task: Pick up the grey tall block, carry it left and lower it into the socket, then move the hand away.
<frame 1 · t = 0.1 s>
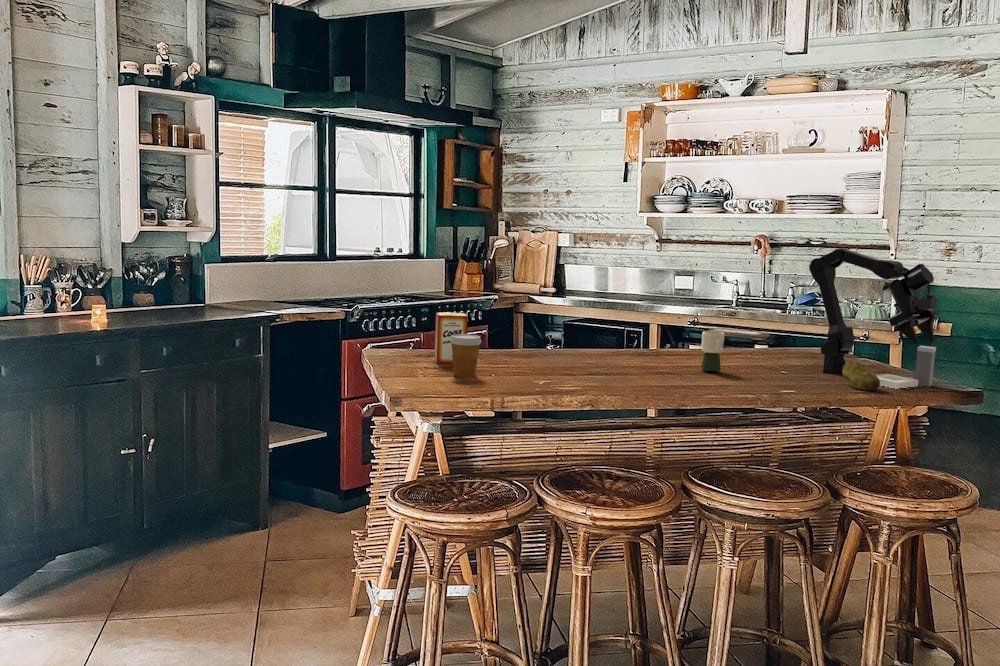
hand: (924, 342, 305), 15 cm above the breakfast bar, tool tilted 35°, fingers open, 9 cm apart
disposable coffee cup: (464, 376, 298), on the breakfast bar
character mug: (710, 372, 323), on the breakfast bar
socket: (891, 385, 313), on the breakfast bar
grey tall block: (922, 385, 314), on the breakfast bar
potato: (859, 388, 305), on the breakfast bar
baking soda box: (450, 362, 320), on the breakfast bar
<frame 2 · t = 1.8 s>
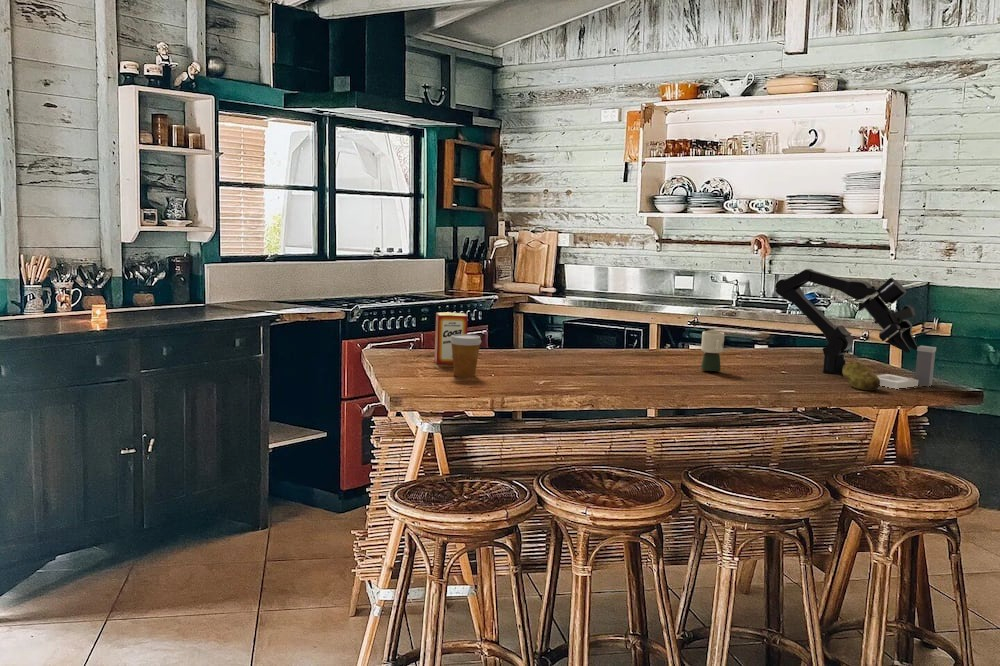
hand: (913, 350, 315), 11 cm above the breakfast bar, tool tilted 45°, fingers open, 9 cm apart
nothing on the breakfast bar moved.
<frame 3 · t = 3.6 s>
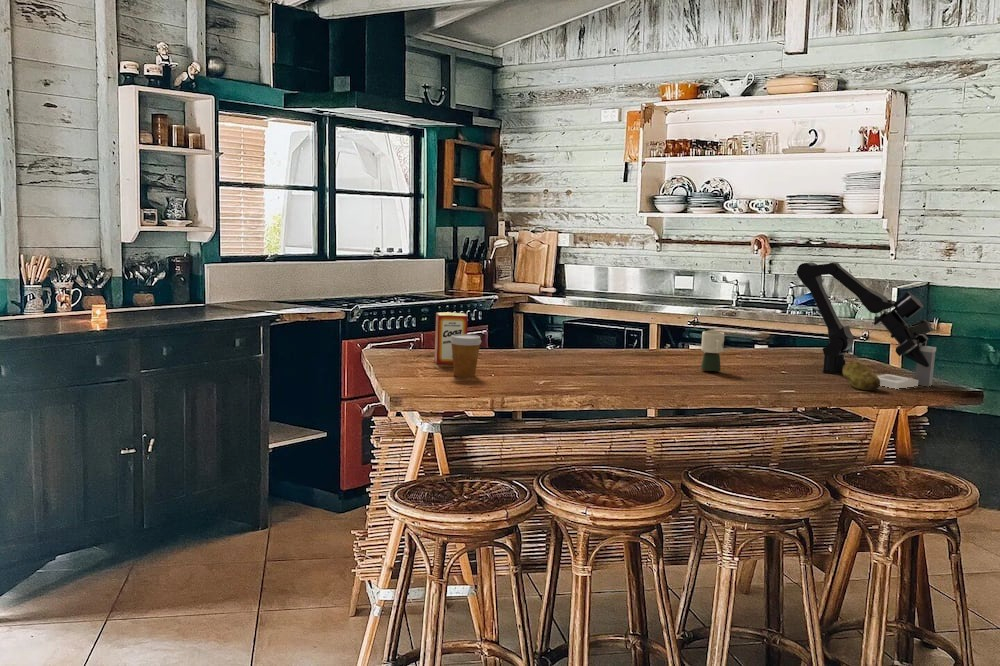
hand: (929, 365, 313), 7 cm above the breakfast bar, tool tilted 45°, fingers closed on grey tall block, 4 cm apart
grey tall block: (922, 385, 314), on the breakfast bar, touching gripper
everything else where it was.
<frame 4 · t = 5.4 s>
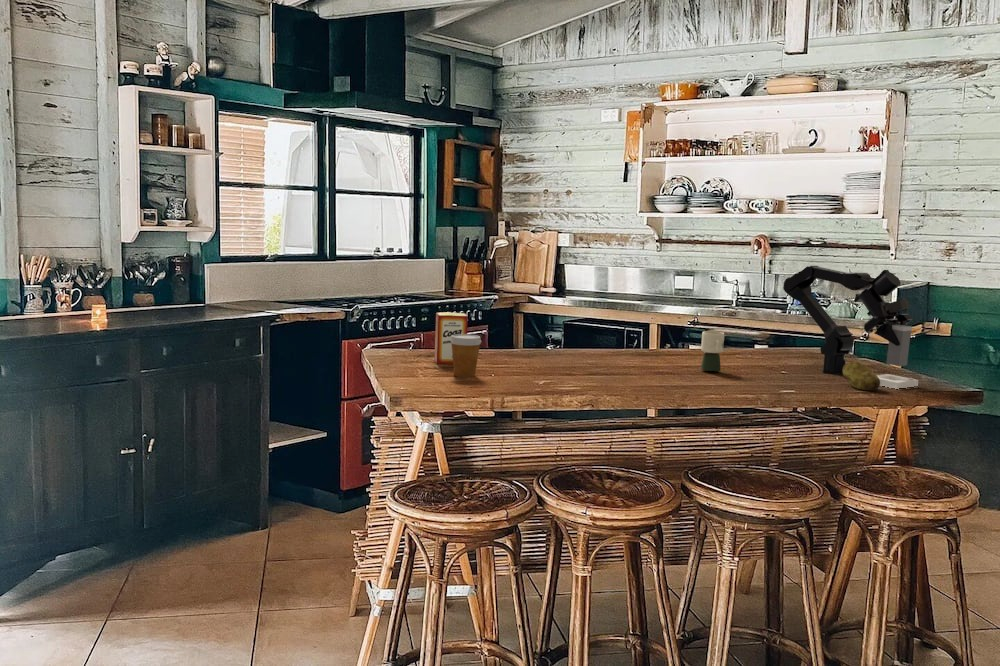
hand: (902, 344, 310), 13 cm above the breakfast bar, tool tilted 45°, fingers closed on grey tall block, 4 cm apart
grey tall block: (896, 364, 312), point 7 cm above the breakfast bar, touching gripper
everything else where it was.
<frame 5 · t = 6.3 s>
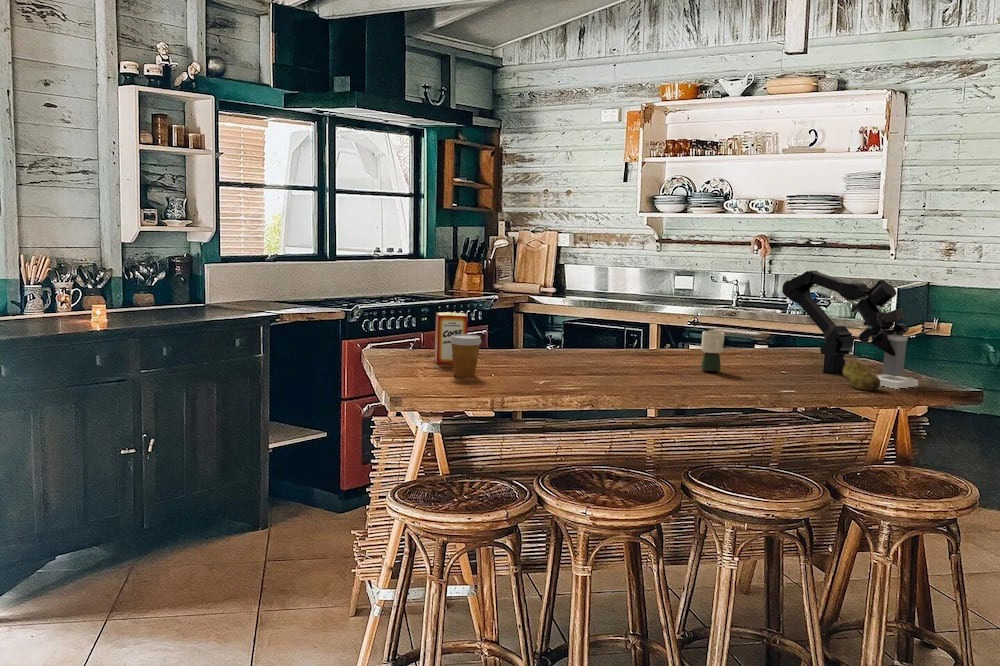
hand: (898, 354, 310), 10 cm above the breakfast bar, tool tilted 45°, fingers closed on grey tall block, 4 cm apart
grey tall block: (892, 374, 312), point 3 cm above the breakfast bar, touching gripper
everything else where it was.
when the fingers open (8 cm above the breakfast bar, at t = 7.1 s): grey tall block stays where it is, resting on socket.
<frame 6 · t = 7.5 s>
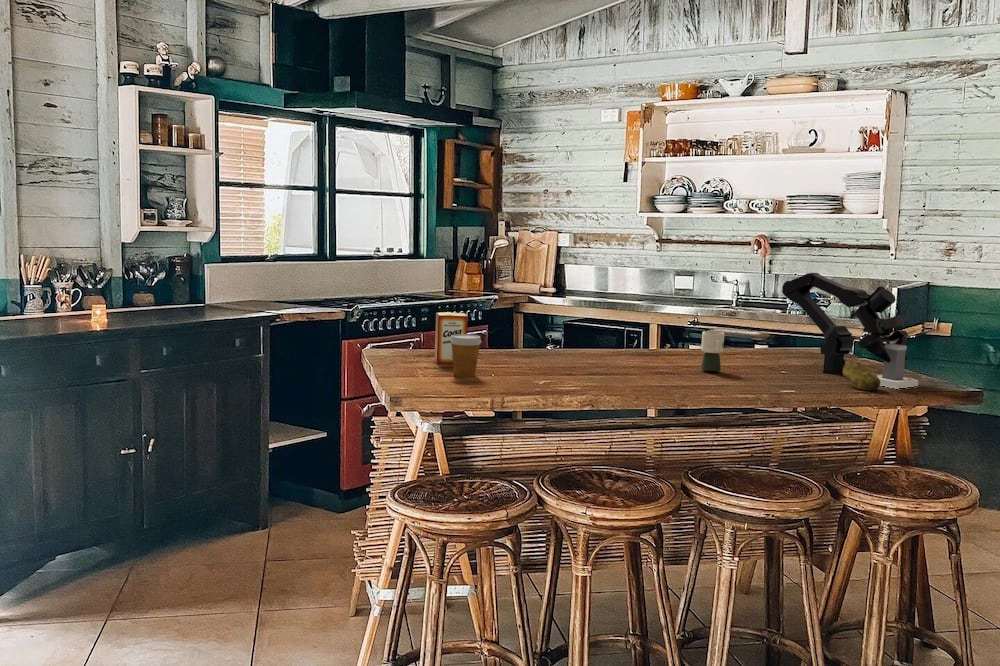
hand: (898, 361, 310), 8 cm above the breakfast bar, tool tilted 45°, fingers open, 8 cm apart
grey tall block: (892, 383, 312), resting on socket
everything else where it was.
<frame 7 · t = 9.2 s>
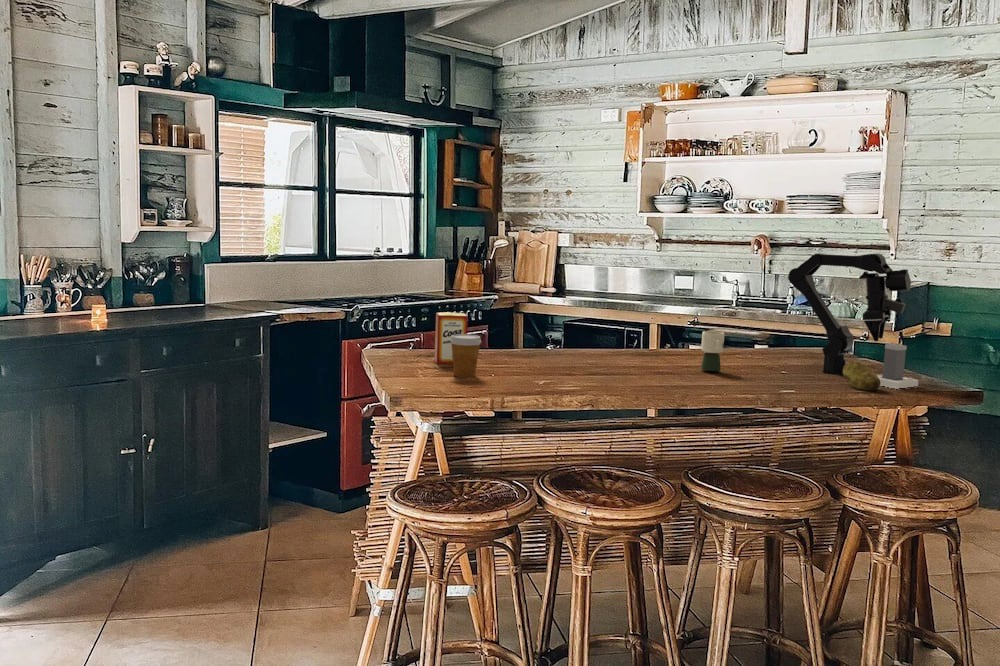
hand: (878, 339, 321), 13 cm above the breakfast bar, tool pointing down, fingers open, 9 cm apart
nothing on the breakfast bar moved.
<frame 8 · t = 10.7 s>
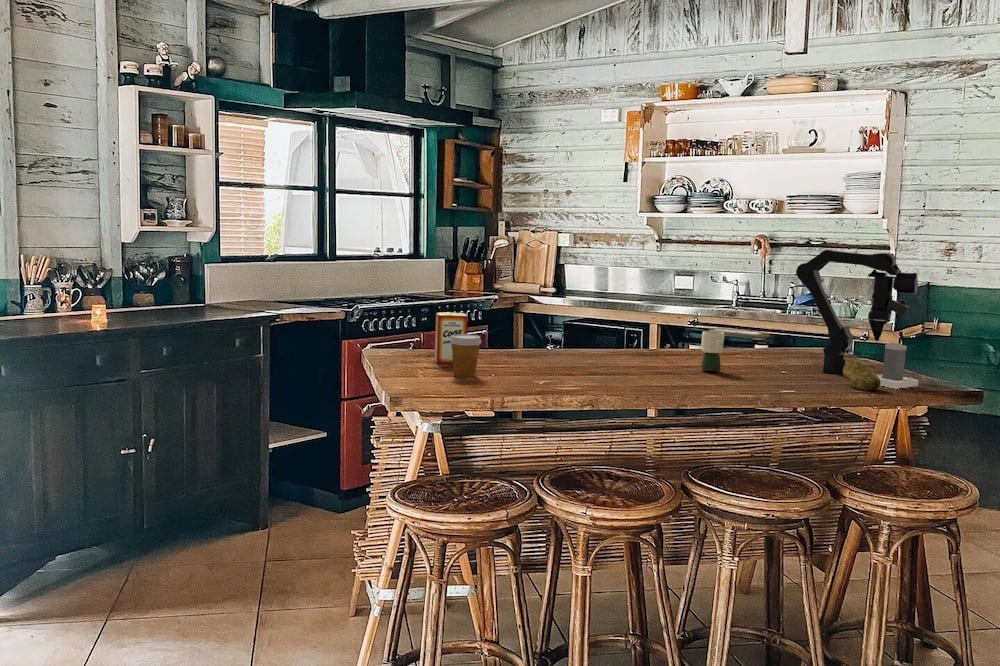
hand: (877, 339, 322), 13 cm above the breakfast bar, tool pointing down, fingers open, 9 cm apart
nothing on the breakfast bar moved.
at the end: grey tall block 0.0 cm off-centre on the socket, point 0.5 cm above the socket's base; grey tall block tilted 0°; the gripper is holding nothing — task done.
